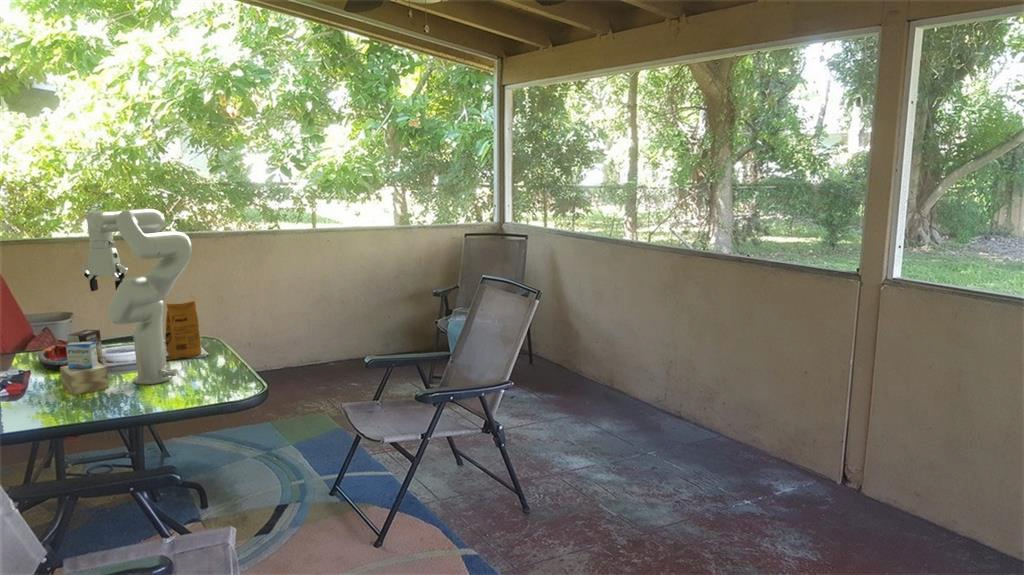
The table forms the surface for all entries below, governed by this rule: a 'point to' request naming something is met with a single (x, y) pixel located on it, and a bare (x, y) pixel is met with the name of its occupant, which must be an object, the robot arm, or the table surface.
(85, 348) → the medicine box
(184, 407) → the table surface
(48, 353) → the dish
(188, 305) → the coffee package
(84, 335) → the coffee box
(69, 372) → the carton lid
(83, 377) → the carton
